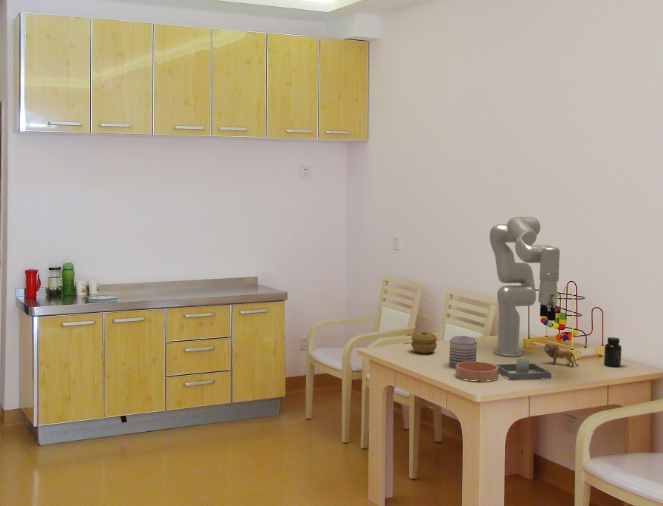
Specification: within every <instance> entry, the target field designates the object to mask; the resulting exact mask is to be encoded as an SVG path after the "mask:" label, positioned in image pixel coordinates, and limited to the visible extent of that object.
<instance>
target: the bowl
mask: <svg viewBox="0 0 663 506" xmlns="http://www.w3.org/2000/svg"><path fill="white" fill-rule="evenodd" d="M499 375H500V373H499V367H498V366H496V365H495V364H494V363H491V362H485V361H477V360H476V361H468V362H461V363H458V364H457V365H456V368H455V377H456V378H458V377H459V378H458V379H460V378H462V379H461V380H463V379H468V380H477V381H487V380H494V379H497V378H498V379H499ZM498 379H497V380H498Z"/></svg>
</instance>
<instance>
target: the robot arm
mask: <svg viewBox="0 0 663 506" xmlns="http://www.w3.org/2000/svg"><path fill="white" fill-rule="evenodd" d="M540 231H541V223H540V220H538V218H537V217H534V216H515V217H511V218H510V219H508V221H507V223H503V224H496V225H493V226H492V227H491V229H490V231H489V242H490V246H491V249H492V252H493V255H494V259H495V265H496V266H495V267H496V272H497V277H498V280H499V281H498V282H500V283H502V284H509V285H503V286H500V287H499V289H498V290H497V293H496V294H497V296H496V297H497V305H498V324H497V326H498V327H497V343H496V344H497V348H495V349H493V354H494V355H496V356H497V355H498V356H502V357H520V356H522V355H523V352H522V351H521V350H519V349H520V325H521V324H520V322H521V318H520V317H521V316H520V313H519V311H518V310H517V308H516V307H531V306H533V305H535V303H536V300H537V293H536V285H535V279H534V273H533V269H532V266H530V264H539V287H538V303H539V307H540V308H539V317H540V318H541V317H543V318H547V319H546V321H548V322H550V321H551V322H554V321H556V313H557V302H558V282H560V281H559V279H560V278H559V277H560V257H561V255H560V254H561V251H560V248H559V247H557V246H552V245H548V244H535V243H536V240H537V236H538V235H539V233H540ZM506 243H512V244H513V243H515V244H514V250H515V253H514V252H513V249H512V248H510V246H509V245H508V244H506ZM515 254H516V255H517V257H519V259H520V260H521V261H522V262H516V260H515ZM510 284H511V285H510ZM513 284H515V285H513ZM516 284H520V285H516Z"/></svg>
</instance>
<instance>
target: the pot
mask: <svg viewBox="0 0 663 506" xmlns="http://www.w3.org/2000/svg"><path fill="white" fill-rule="evenodd" d="M437 338H438V337H437V336H436V335H435V333H432V332H428V331H426V330H423V331H420V332H415V333H414V334H412V336H411V340H412V342H411V344H410V345H411V348H412V350H414V351H415V352H416V353H420V354H430V353H433V352H434V351H435V350H436V349H437V344H438V343H437V341H438V339H437Z"/></svg>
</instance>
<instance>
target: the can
mask: <svg viewBox="0 0 663 506" xmlns="http://www.w3.org/2000/svg"><path fill="white" fill-rule="evenodd" d="M477 343H478V340H477V339H476V338H475V337H473V336H466V335H459V336H458V335H456V336H453V337H450V338H449V359H448V360H449V361H448V363H449V366H450V368H453V369H456V365H457V364H458V363H461V362H468V361H477V347H478V345H477Z"/></svg>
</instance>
